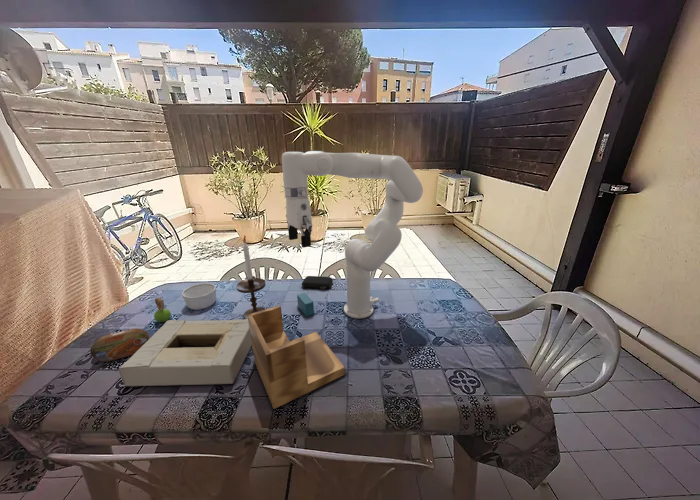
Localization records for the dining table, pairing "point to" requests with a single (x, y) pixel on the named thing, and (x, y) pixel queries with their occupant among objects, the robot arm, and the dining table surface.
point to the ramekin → (200, 296)
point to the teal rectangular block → (305, 304)
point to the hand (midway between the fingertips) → (299, 242)
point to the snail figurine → (161, 311)
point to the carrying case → (317, 282)
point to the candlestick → (250, 283)
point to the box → (190, 354)
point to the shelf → (289, 358)
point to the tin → (119, 344)
